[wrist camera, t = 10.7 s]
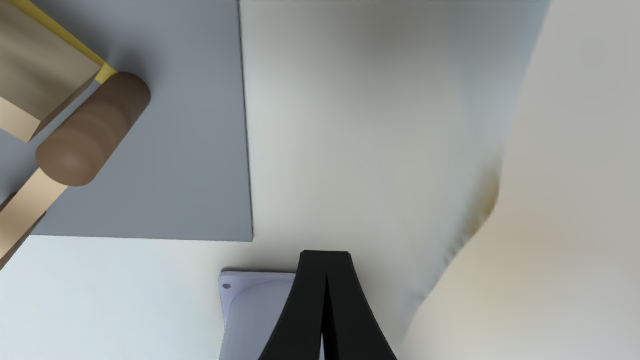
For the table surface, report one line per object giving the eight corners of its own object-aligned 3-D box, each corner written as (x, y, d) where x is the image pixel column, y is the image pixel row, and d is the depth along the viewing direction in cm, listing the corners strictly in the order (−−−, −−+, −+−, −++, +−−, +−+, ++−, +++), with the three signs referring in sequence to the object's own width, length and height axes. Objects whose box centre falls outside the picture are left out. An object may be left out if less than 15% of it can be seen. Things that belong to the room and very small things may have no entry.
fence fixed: (121, 62, 19) (53, 127, 14) (159, 93, 20) (107, 165, 15) (1, 205, 24) (-82, 291, 19) (35, 225, 25) (-35, 312, 20)
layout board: (252, 237, 26) (251, 242, 25) (-38, 227, 25) (-43, 233, 25) (221, -254, 14) (218, -258, 13) (-340, -289, 13) (-361, -294, 13)
